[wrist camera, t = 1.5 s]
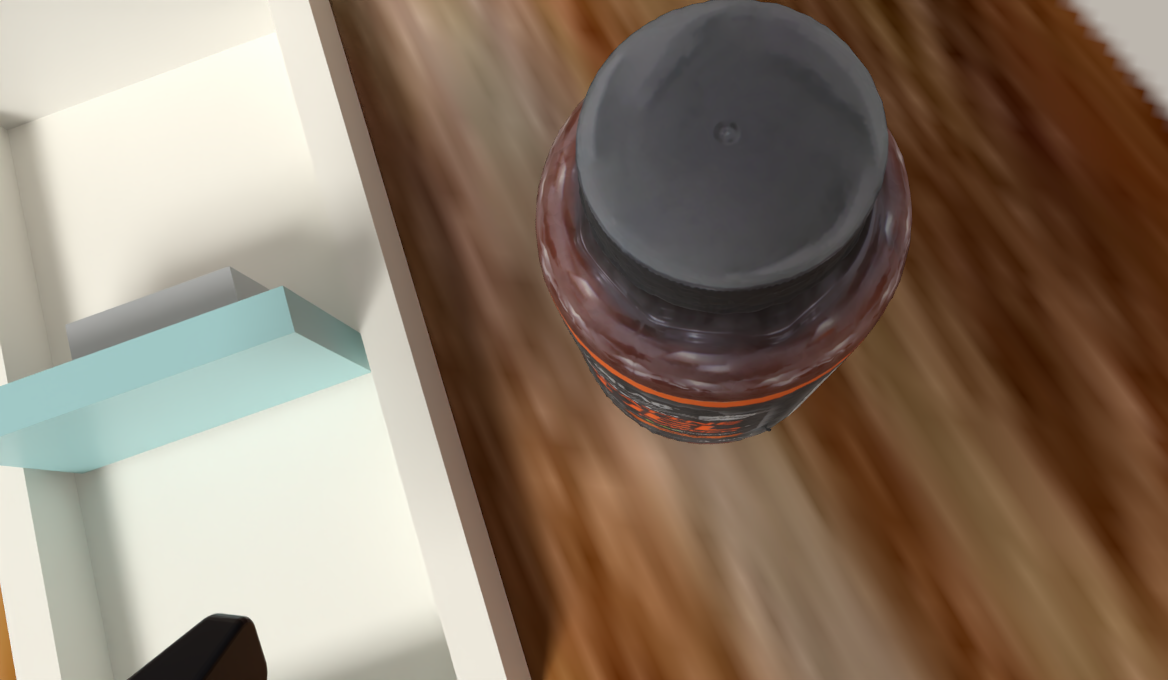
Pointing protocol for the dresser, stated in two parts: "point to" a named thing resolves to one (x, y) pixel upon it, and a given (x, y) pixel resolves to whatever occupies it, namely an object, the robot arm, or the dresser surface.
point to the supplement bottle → (723, 218)
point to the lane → (258, 441)
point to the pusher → (173, 372)
